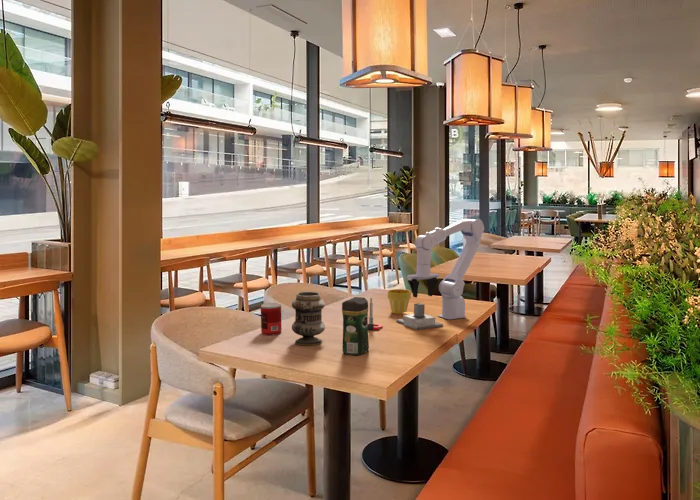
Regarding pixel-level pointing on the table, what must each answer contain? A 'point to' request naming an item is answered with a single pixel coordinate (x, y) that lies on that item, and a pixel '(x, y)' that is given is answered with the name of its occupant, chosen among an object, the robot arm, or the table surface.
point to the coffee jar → (355, 326)
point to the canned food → (271, 318)
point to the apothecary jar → (308, 317)
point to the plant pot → (399, 300)
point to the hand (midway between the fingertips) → (422, 296)
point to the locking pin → (419, 310)
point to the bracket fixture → (418, 321)
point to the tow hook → (370, 324)
